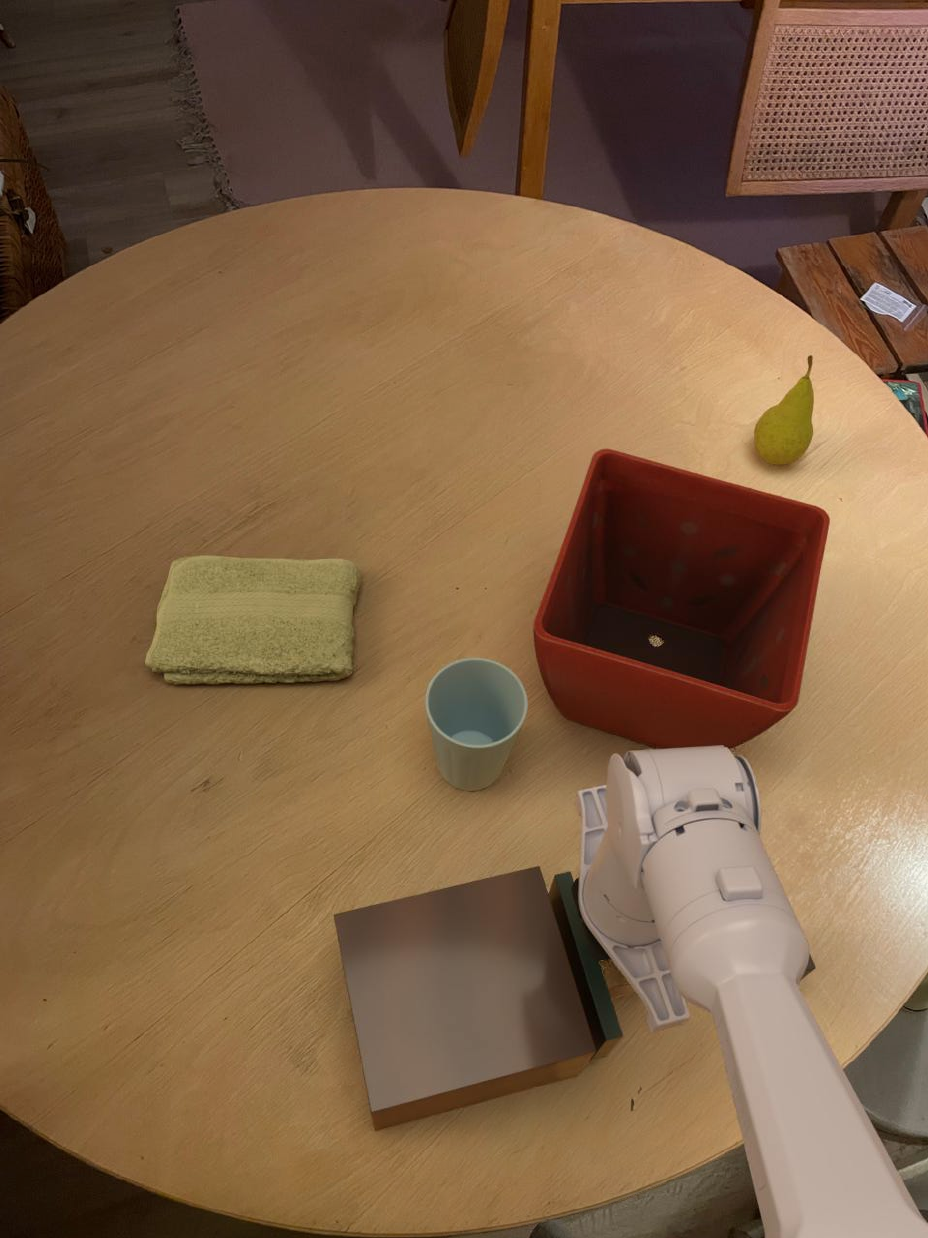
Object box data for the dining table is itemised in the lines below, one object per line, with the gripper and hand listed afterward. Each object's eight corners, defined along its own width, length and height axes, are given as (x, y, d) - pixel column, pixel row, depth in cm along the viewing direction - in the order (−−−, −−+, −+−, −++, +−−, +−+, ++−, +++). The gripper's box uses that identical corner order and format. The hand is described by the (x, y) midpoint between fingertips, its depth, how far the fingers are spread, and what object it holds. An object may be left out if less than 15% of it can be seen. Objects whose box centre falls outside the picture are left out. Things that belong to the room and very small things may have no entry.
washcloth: (171, 564, 96) (164, 543, 93) (363, 570, 96) (361, 549, 94) (146, 688, 88) (138, 669, 86) (353, 694, 89) (352, 675, 86)
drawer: (610, 888, 80) (626, 857, 74) (662, 1041, 74) (683, 1020, 68) (385, 944, 77) (383, 915, 71) (420, 1107, 71) (421, 1091, 65)
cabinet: (527, 904, 80) (539, 865, 72) (578, 1076, 73) (596, 1051, 66) (340, 950, 77) (333, 914, 70) (374, 1131, 71) (371, 1113, 63)
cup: (434, 813, 83) (437, 756, 75) (414, 730, 87) (415, 666, 79) (525, 794, 85) (539, 736, 76) (501, 713, 89) (512, 649, 80)
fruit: (765, 485, 104) (803, 398, 94) (734, 445, 107) (768, 357, 97) (812, 469, 106) (855, 382, 96) (781, 429, 108) (818, 341, 98)
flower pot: (733, 810, 85) (797, 714, 71) (510, 739, 87) (529, 632, 73) (770, 625, 95) (833, 508, 81) (569, 567, 97) (596, 444, 83)
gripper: (762, 984, 55) (702, 1038, 66) (666, 742, 62) (626, 828, 74) (637, 1018, 53) (597, 1066, 65) (554, 767, 61) (531, 850, 72)
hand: (606, 941), depth 69 cm, fingers closed
